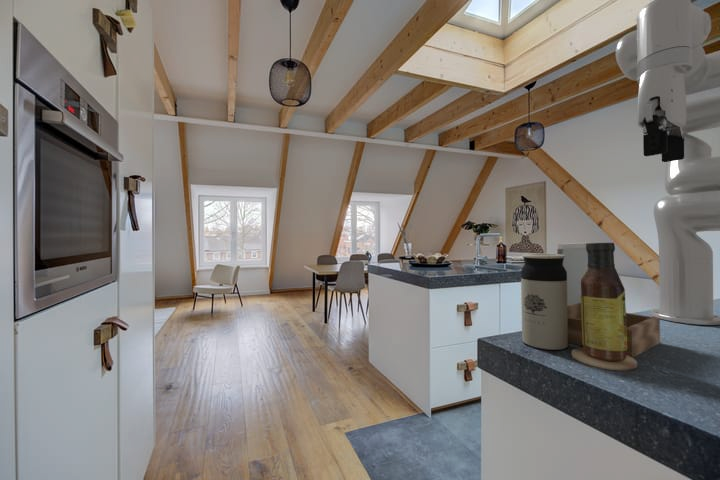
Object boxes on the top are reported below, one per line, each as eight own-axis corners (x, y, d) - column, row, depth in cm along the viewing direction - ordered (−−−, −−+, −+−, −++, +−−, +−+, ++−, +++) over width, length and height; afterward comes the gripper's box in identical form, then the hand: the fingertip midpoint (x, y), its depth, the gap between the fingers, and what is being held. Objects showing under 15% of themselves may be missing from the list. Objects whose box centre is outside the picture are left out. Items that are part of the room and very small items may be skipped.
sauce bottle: (636, 364, 52) (634, 242, 52) (593, 362, 53) (591, 243, 53) (613, 350, 58) (611, 241, 58) (575, 348, 59) (573, 242, 59)
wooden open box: (590, 328, 73) (590, 298, 73) (659, 342, 63) (659, 307, 63) (559, 340, 66) (559, 306, 66) (632, 358, 56) (631, 318, 56)
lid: (591, 328, 74) (590, 242, 73) (596, 329, 73) (595, 242, 73) (557, 340, 66) (556, 244, 66) (563, 342, 65) (561, 244, 65)
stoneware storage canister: (542, 336, 69) (541, 253, 69) (577, 348, 61) (576, 254, 61) (513, 340, 66) (512, 254, 66) (546, 353, 59) (545, 256, 59)
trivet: (585, 347, 62) (585, 344, 62) (645, 362, 54) (645, 358, 54) (562, 357, 57) (562, 354, 57) (624, 375, 49) (624, 371, 49)
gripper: (653, 86, 68) (654, 166, 68) (620, 65, 59) (621, 156, 59) (704, 70, 62) (705, 158, 62) (675, 43, 53) (676, 146, 53)
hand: (664, 157), depth 61 cm, fingers open, 9 cm apart
